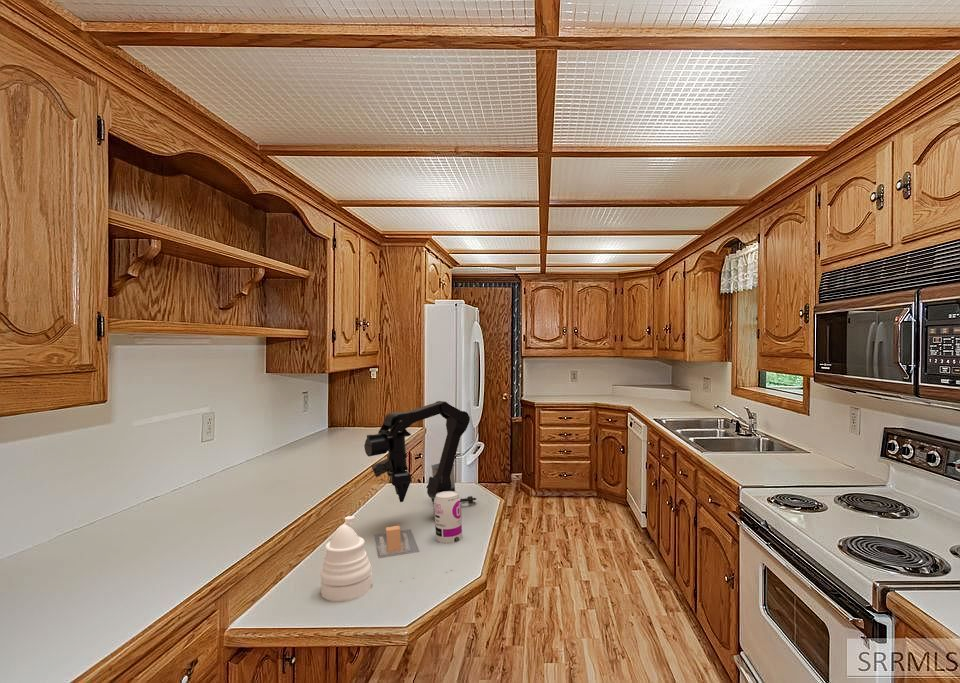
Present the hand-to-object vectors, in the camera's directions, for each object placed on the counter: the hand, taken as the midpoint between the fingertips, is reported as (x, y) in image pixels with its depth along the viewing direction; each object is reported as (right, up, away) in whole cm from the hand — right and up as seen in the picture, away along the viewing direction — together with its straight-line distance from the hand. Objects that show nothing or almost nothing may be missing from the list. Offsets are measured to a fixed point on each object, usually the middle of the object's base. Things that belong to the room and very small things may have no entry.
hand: (399, 497), depth 172 cm
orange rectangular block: (+1, -10, -16) cm, 19 cm away
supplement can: (+17, -11, -10) cm, 23 cm away
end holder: (+1, -11, -16) cm, 20 cm away
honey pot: (-8, -13, -37) cm, 40 cm away
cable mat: (0, -12, -11) cm, 16 cm away
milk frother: (+17, -11, +29) cm, 36 cm away
